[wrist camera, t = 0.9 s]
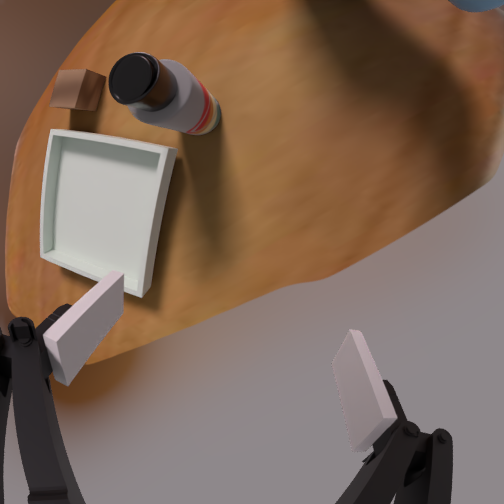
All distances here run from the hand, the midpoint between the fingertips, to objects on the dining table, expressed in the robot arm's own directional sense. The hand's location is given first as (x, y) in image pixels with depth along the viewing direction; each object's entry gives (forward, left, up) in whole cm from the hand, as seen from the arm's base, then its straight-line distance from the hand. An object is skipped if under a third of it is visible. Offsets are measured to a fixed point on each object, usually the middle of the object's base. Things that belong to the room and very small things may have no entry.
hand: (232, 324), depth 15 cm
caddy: (+3, -21, -23) cm, 32 cm away
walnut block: (-13, -29, -23) cm, 40 cm away
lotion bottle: (-12, -10, -23) cm, 28 cm away
